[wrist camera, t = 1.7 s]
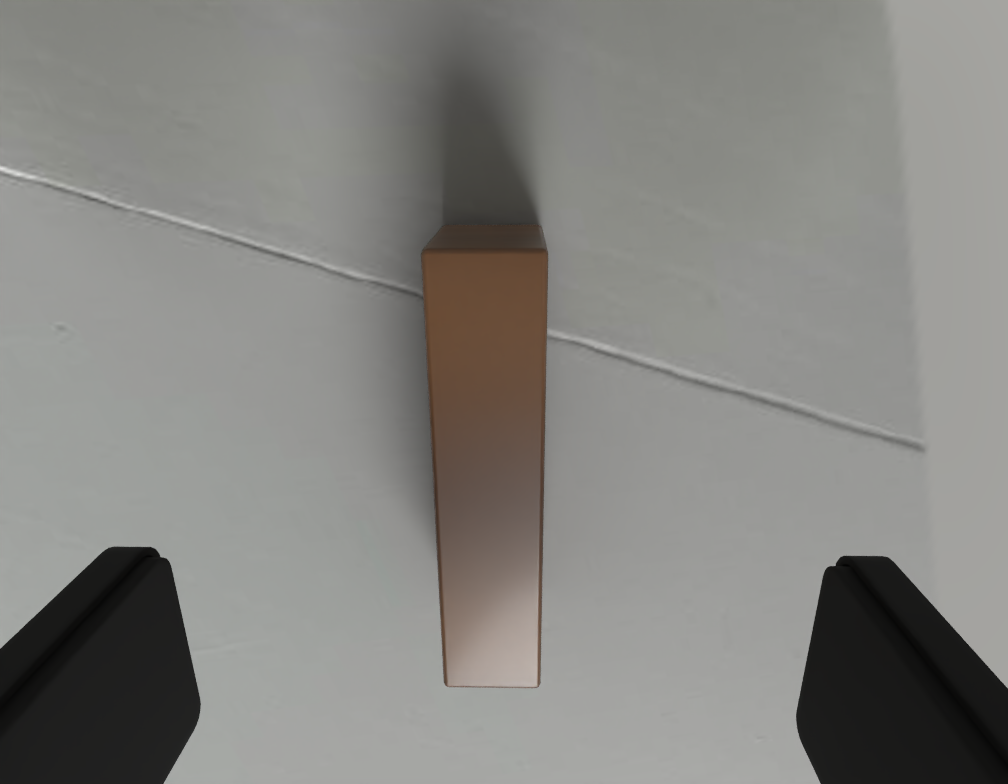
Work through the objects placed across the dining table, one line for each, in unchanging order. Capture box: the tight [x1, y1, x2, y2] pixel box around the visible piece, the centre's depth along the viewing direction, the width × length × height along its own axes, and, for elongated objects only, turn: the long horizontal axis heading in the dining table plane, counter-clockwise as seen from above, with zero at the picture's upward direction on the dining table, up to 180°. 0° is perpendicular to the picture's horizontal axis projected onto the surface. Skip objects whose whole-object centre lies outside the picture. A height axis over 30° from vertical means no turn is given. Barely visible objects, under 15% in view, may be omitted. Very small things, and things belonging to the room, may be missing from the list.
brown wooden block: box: [421, 225, 548, 688], centre depth 13 cm, size 9×2×3 cm, turn 0°
